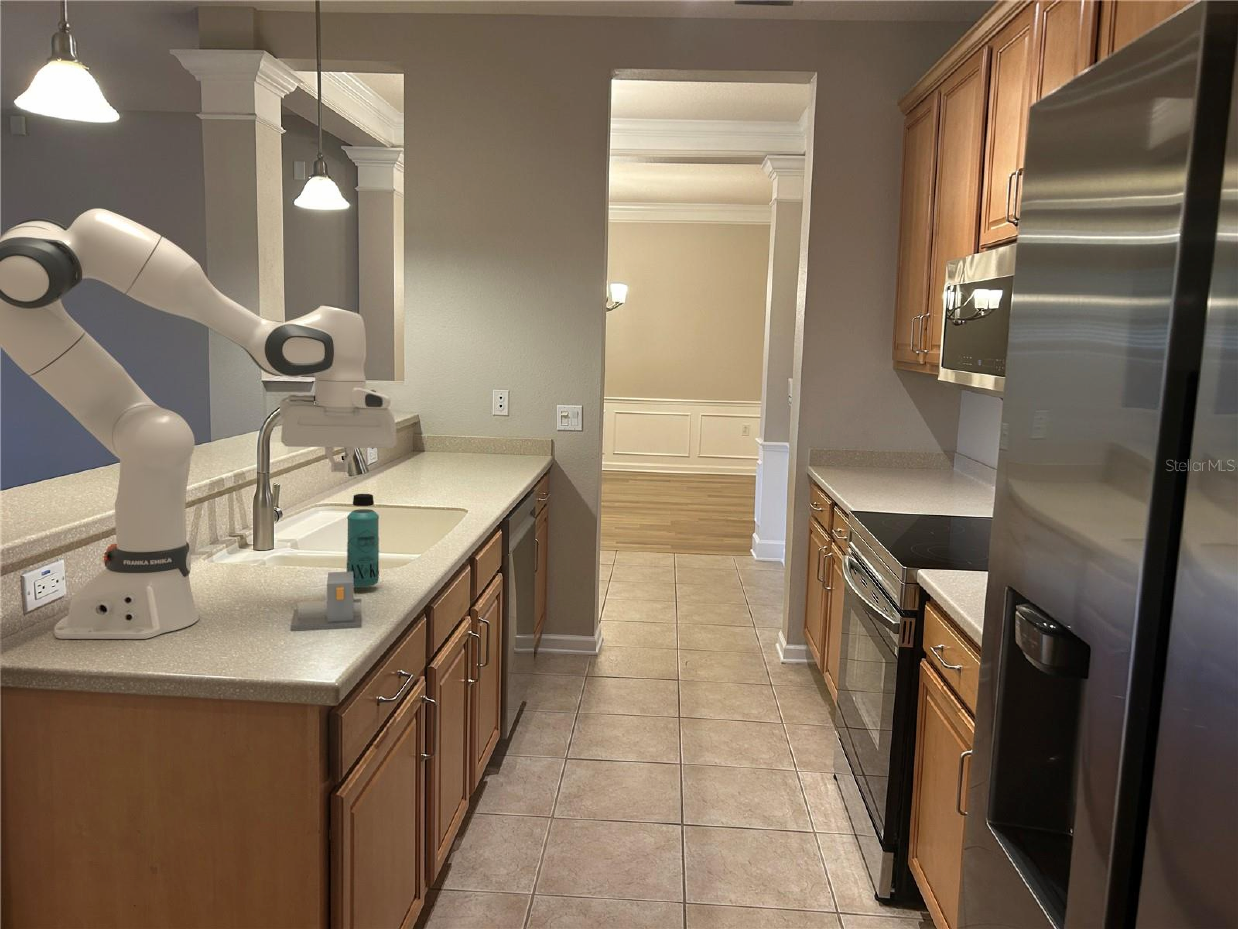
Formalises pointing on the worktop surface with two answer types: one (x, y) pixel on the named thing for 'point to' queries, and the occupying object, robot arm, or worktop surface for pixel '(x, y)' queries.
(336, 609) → the module
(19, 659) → the worktop surface
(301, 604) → the grey ledge plate
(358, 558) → the beverage bottle
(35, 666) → the worktop surface
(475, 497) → the worktop surface
